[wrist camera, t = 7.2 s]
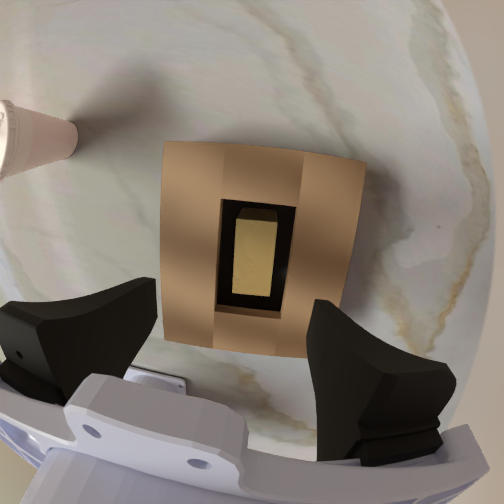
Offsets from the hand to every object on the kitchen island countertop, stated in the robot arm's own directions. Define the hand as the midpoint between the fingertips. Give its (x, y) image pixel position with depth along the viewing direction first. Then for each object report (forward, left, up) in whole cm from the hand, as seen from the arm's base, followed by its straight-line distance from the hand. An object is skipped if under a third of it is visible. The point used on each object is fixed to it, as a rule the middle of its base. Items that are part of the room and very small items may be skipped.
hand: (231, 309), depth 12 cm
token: (0, -1, -10) cm, 10 cm away
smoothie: (+8, +18, -11) cm, 23 cm away
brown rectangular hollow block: (0, -1, -10) cm, 10 cm away
